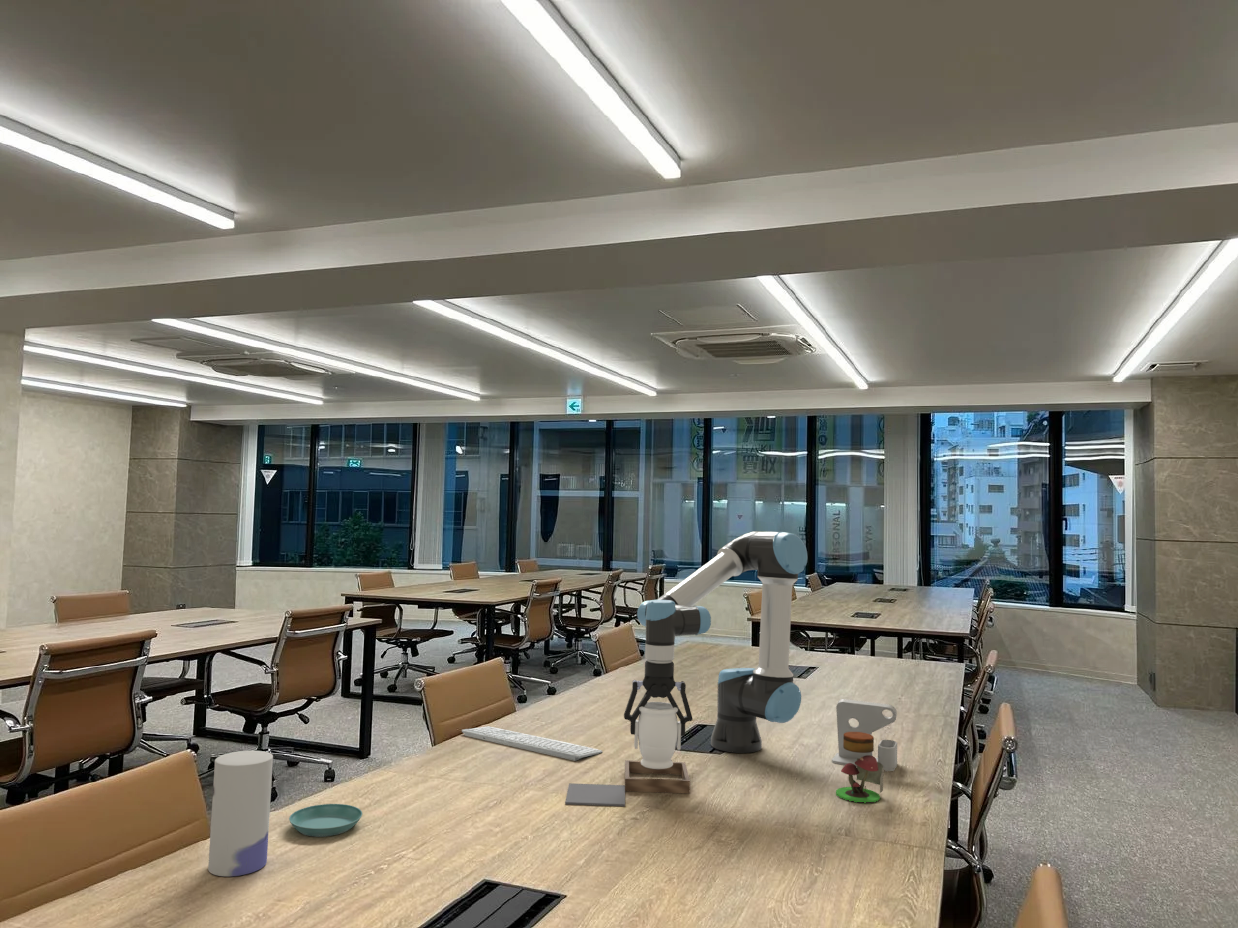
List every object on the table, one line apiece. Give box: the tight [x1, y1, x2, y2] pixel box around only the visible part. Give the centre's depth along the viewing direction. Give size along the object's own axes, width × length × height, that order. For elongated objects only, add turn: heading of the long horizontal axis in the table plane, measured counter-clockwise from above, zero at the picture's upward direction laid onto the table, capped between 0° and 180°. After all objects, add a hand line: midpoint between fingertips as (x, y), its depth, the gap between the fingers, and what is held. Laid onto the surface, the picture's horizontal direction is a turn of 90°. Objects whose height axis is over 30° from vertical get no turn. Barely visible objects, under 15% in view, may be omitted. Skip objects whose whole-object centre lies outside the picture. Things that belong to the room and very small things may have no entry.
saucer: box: [288, 803, 363, 838], centre depth 178 cm, size 15×15×3 cm
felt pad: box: [564, 783, 626, 807], centre depth 203 cm, size 14×14×1 cm
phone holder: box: [831, 698, 898, 772], centre depth 239 cm, size 17×10×18 cm, turn 65°
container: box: [207, 750, 274, 877], centre depth 157 cm, size 10×10×20 cm
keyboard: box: [461, 725, 603, 762], centre depth 248 cm, size 44×12×2 cm, turn 57°
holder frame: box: [624, 759, 691, 794], centre depth 215 cm, size 16×16×3 cm
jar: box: [637, 701, 678, 769], centre depth 216 cm, size 11×10×15 cm
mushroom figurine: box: [835, 732, 885, 804], centre depth 209 cm, size 12×13×15 cm
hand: (657, 747), depth 216 cm, fingers closed on jar, 10 cm apart
